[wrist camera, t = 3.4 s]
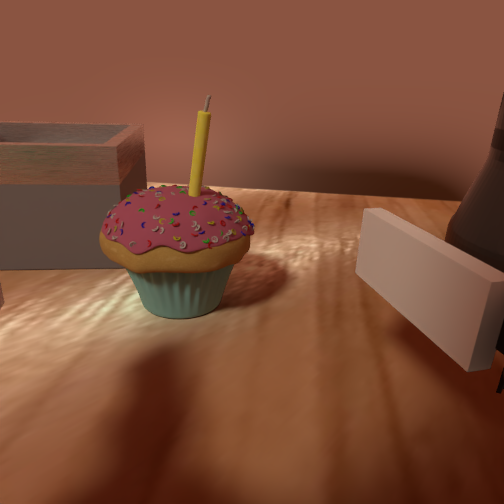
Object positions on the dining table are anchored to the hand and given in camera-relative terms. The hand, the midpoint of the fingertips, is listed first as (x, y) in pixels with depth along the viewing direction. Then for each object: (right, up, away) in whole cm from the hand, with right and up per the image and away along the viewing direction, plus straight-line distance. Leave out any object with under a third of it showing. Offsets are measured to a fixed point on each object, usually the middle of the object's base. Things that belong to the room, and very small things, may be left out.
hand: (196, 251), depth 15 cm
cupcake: (-2, -3, +11) cm, 12 cm away
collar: (-14, +7, +19) cm, 25 cm away
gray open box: (-15, +1, +21) cm, 26 cm away
